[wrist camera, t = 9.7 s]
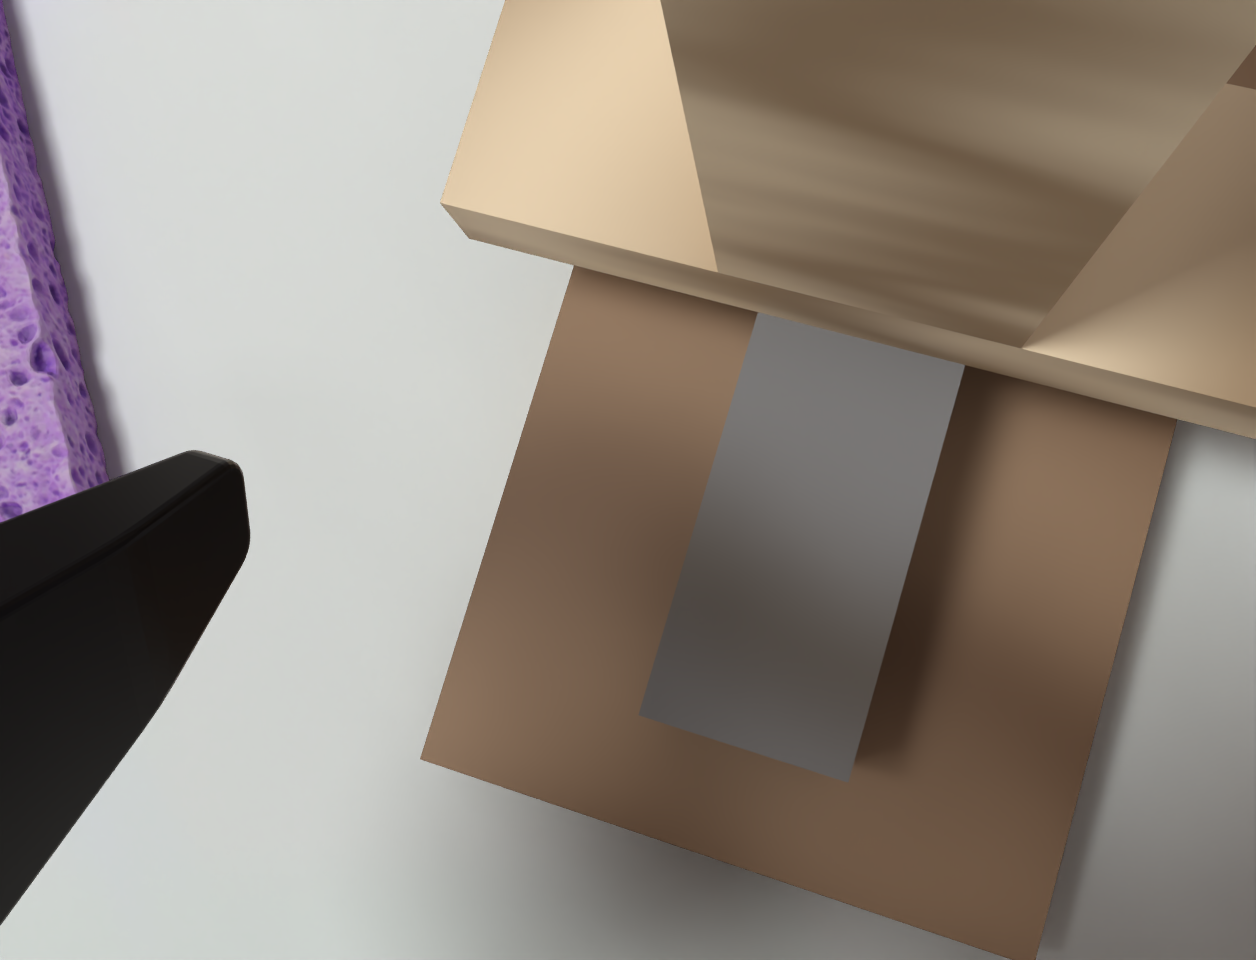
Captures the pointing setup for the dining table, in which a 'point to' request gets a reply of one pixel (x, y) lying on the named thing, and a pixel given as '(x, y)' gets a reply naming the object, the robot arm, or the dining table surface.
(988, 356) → the oak T piece
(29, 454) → the sponges
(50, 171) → the dining table surface
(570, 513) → the stand
